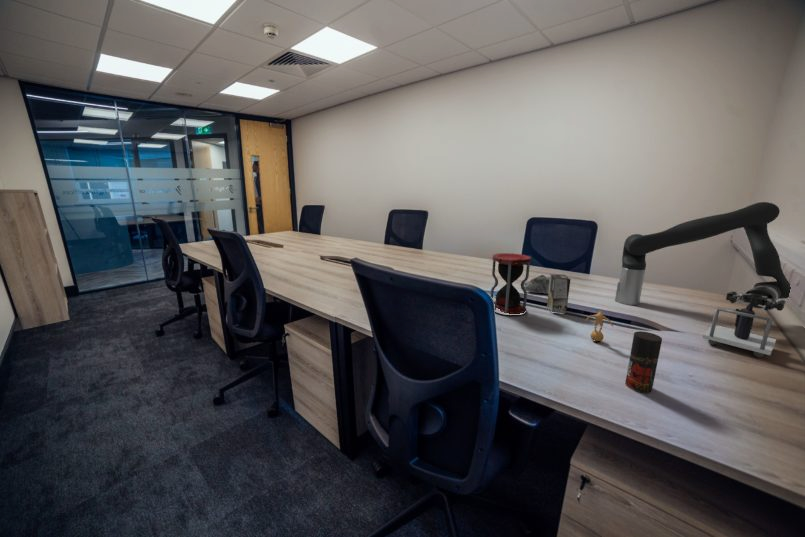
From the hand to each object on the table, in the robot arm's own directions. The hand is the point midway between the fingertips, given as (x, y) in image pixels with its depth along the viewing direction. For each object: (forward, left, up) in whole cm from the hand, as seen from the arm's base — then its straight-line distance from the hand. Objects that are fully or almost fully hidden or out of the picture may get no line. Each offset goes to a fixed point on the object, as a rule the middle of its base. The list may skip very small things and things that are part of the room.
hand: (749, 303), depth 114 cm
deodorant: (-12, -65, -14) cm, 67 cm away
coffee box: (-56, -25, -14) cm, 63 cm away
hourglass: (-70, -42, -14) cm, 82 cm away
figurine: (-31, -45, -14) cm, 56 cm away
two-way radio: (0, -8, -10) cm, 13 cm away
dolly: (0, -9, -14) cm, 16 cm away
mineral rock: (-76, -5, -14) cm, 78 cm away
